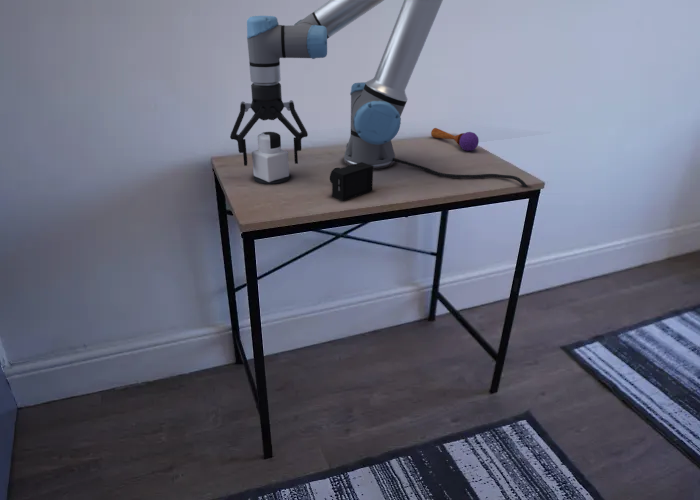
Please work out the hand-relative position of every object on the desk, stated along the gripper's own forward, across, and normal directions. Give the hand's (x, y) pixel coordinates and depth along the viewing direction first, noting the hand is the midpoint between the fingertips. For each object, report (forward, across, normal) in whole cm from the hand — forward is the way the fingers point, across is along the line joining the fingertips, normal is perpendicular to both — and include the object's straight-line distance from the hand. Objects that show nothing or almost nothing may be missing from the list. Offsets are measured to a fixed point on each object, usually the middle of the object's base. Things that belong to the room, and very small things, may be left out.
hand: (271, 163), depth 143 cm
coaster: (+4, 0, 0) cm, 4 cm away
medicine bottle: (+4, 0, 0) cm, 4 cm away
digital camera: (+4, -20, +14) cm, 25 cm away
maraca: (+4, -60, -24) cm, 65 cm away
